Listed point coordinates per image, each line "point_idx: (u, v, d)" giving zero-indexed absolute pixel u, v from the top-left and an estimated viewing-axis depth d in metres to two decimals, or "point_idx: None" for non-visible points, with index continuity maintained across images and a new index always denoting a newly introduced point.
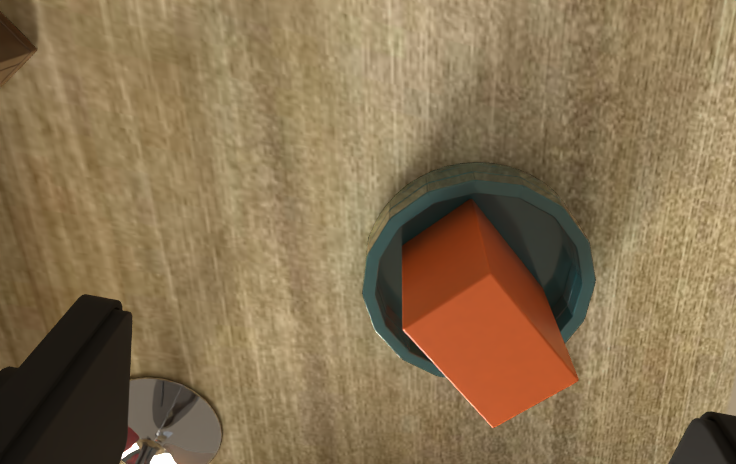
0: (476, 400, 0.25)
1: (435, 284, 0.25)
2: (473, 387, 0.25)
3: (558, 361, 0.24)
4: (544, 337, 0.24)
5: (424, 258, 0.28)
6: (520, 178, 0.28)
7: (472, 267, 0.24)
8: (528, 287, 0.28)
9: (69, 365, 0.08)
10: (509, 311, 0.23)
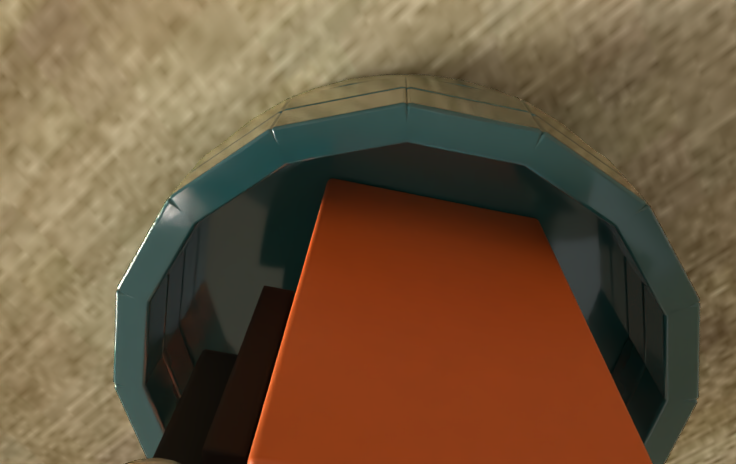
0: None
1: (429, 378, 0.07)
2: None
3: None
4: None
5: (395, 257, 0.09)
6: None
7: (589, 438, 0.07)
8: None
9: (278, 346, 0.09)
10: None
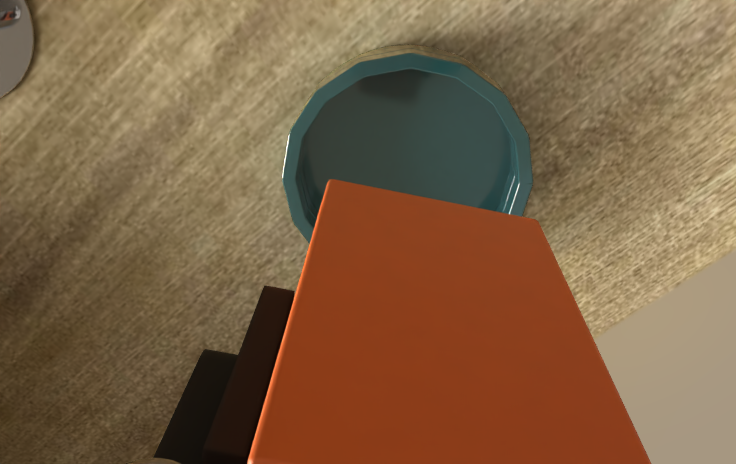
0: None
1: (430, 379, 0.07)
2: None
3: None
4: None
5: (395, 258, 0.09)
6: None
7: (588, 438, 0.07)
8: None
9: (278, 346, 0.09)
10: None
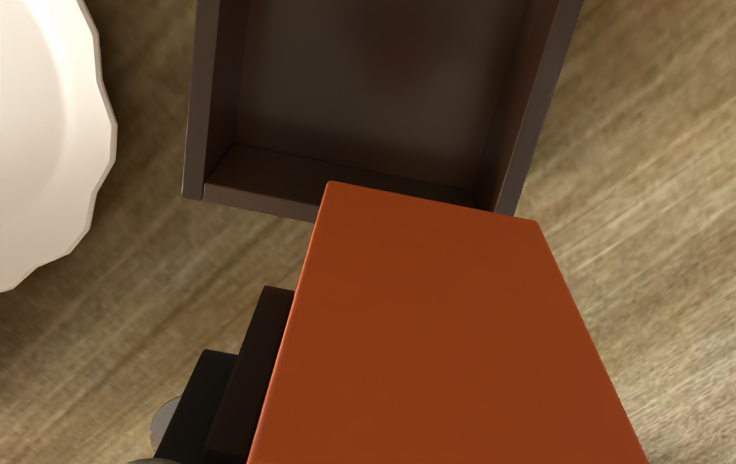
0: None
1: (429, 381, 0.07)
2: None
3: None
4: None
5: (394, 260, 0.09)
6: None
7: (587, 442, 0.07)
8: None
9: (278, 346, 0.09)
10: None
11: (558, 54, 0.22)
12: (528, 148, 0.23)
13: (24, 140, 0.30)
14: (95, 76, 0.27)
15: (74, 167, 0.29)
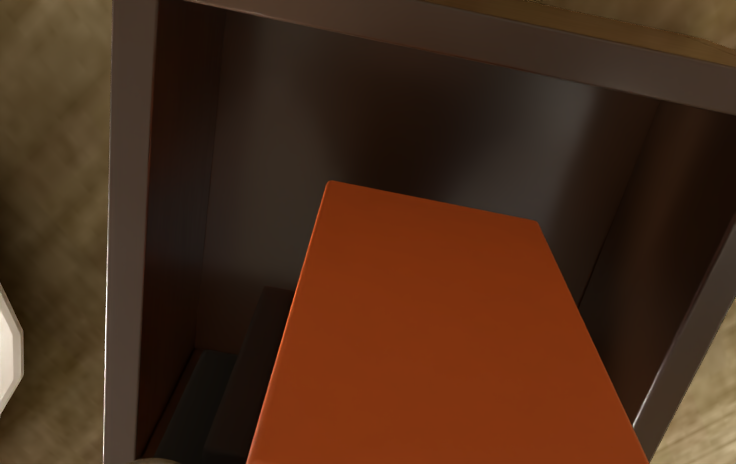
0: None
1: (428, 381, 0.07)
2: None
3: None
4: None
5: (393, 260, 0.09)
6: None
7: (587, 441, 0.07)
8: None
9: (278, 346, 0.09)
10: None
11: (717, 308, 0.13)
12: (653, 435, 0.14)
13: None
14: None
15: None
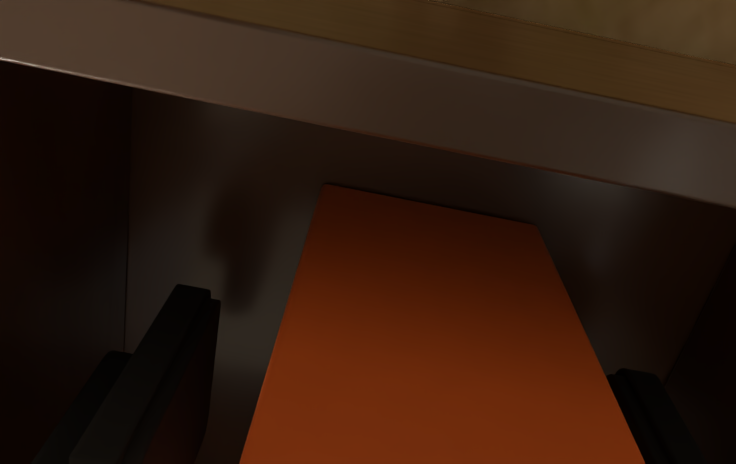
0: None
1: (424, 395, 0.07)
2: None
3: None
4: None
5: (389, 267, 0.09)
6: None
7: (589, 458, 0.06)
8: None
9: (179, 347, 0.09)
10: None
11: None
12: None
13: None
14: None
15: None
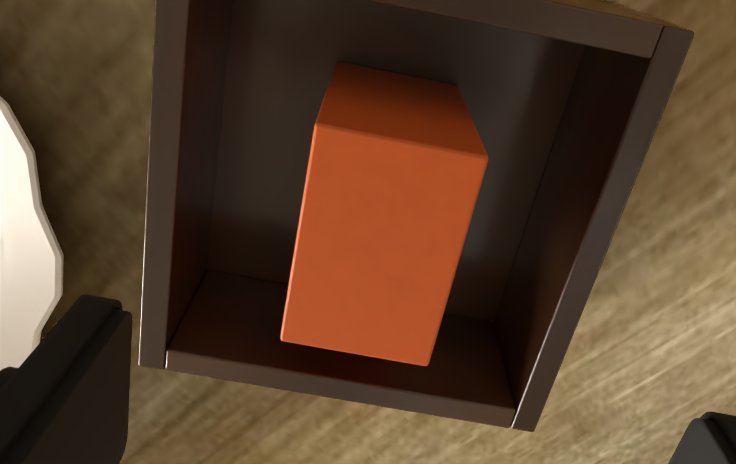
0: (299, 292, 0.16)
1: (389, 117, 0.16)
2: (314, 274, 0.16)
3: (432, 327, 0.17)
4: (450, 288, 0.16)
5: (374, 88, 0.18)
6: None
7: (456, 136, 0.15)
8: None
9: (69, 365, 0.08)
10: (453, 222, 0.15)
11: (616, 204, 0.17)
12: (574, 311, 0.19)
13: None
14: (32, 202, 0.22)
15: (13, 299, 0.24)
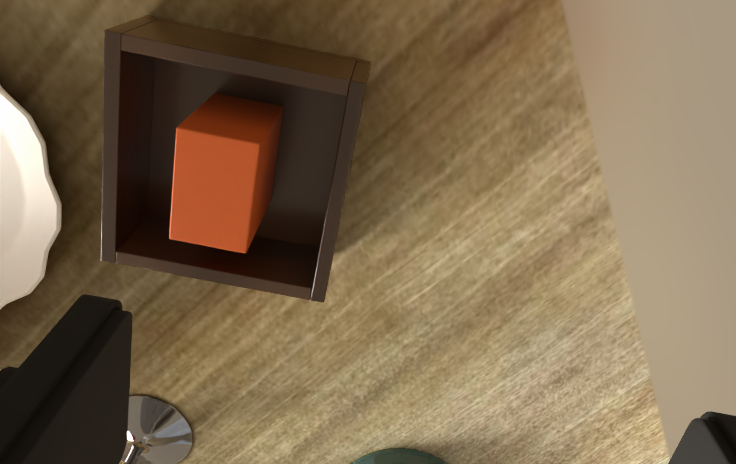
0: (176, 212, 0.32)
1: (220, 124, 0.32)
2: (182, 202, 0.32)
3: (245, 231, 0.32)
4: (251, 210, 0.32)
5: (224, 109, 0.34)
6: None
7: (251, 134, 0.31)
8: (266, 185, 0.36)
9: (69, 365, 0.08)
10: (247, 175, 0.31)
11: (344, 170, 0.33)
12: (332, 229, 0.34)
13: None
14: (44, 171, 0.38)
15: (32, 232, 0.41)
